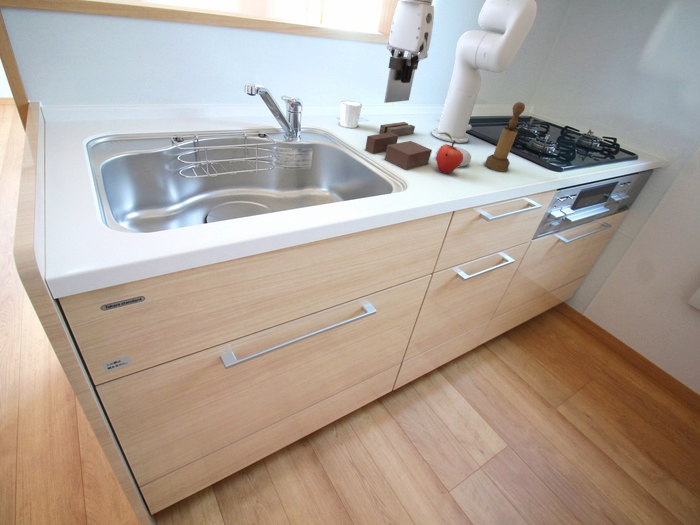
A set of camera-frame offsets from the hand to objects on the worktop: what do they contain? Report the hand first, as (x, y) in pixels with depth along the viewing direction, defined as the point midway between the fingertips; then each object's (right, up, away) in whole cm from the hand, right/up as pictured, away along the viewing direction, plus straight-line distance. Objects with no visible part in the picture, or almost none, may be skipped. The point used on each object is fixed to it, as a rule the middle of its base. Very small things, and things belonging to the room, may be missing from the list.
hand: (400, 80), depth 97 cm
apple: (+12, -24, +2) cm, 27 cm away
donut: (+16, -19, +10) cm, 27 cm away
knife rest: (+2, -5, +25) cm, 26 cm away
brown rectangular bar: (-5, -15, +10) cm, 19 cm away
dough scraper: (-1, -4, +3) cm, 5 cm away
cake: (+2, -20, +4) cm, 21 cm away
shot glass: (-14, -3, +25) cm, 29 cm away
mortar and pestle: (+29, -20, +11) cm, 37 cm away
